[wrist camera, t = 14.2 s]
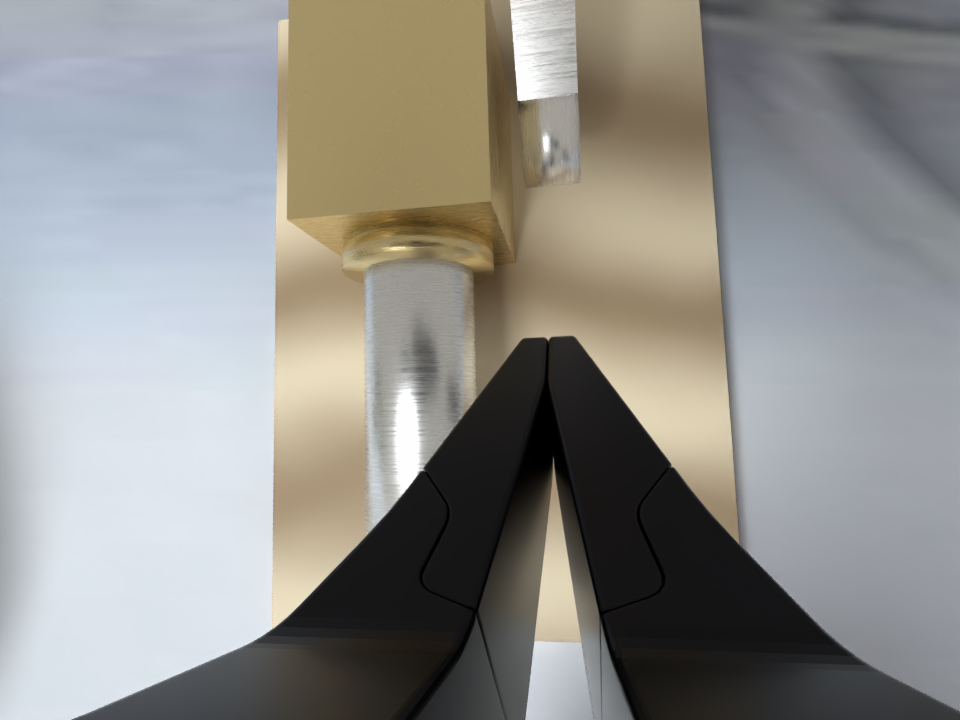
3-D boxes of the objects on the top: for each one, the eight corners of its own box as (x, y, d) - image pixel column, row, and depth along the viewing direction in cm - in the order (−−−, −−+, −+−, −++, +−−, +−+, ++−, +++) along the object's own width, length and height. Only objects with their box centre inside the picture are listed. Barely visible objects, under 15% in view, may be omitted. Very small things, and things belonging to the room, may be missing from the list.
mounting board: (737, 635, 18) (747, 647, 17) (286, 621, 20) (272, 632, 19) (690, -20, 20) (695, -43, 19) (291, 37, 23) (278, 20, 22)
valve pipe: (527, 607, 18) (505, 690, 12) (368, 603, 19) (282, 679, 13) (506, 12, 20) (480, -140, 15) (364, 33, 21) (289, -104, 15)
